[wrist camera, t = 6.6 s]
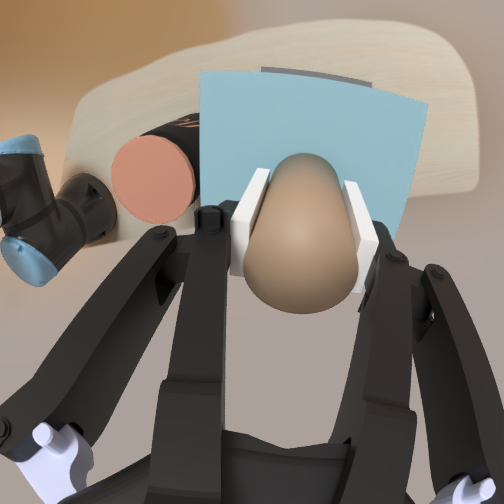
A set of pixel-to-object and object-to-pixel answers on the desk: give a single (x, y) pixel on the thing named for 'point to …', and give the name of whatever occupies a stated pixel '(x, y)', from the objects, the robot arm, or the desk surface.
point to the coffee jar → (160, 171)
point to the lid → (306, 173)
